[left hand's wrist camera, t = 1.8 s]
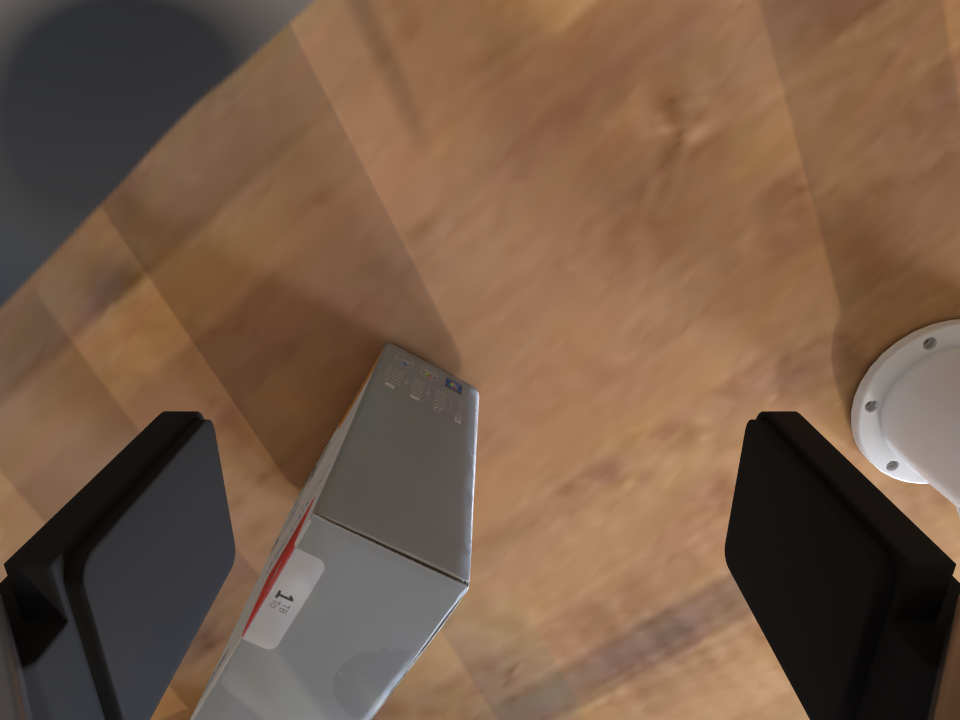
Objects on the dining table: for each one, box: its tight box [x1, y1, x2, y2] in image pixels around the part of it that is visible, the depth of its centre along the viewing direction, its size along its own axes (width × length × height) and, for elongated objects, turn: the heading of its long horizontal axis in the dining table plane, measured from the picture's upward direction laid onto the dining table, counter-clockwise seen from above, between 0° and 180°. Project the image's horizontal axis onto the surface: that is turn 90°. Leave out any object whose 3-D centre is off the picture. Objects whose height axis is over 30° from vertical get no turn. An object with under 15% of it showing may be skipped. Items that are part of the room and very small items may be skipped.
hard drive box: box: [190, 343, 479, 720], centre depth 37 cm, size 16×8×20 cm, turn 149°
